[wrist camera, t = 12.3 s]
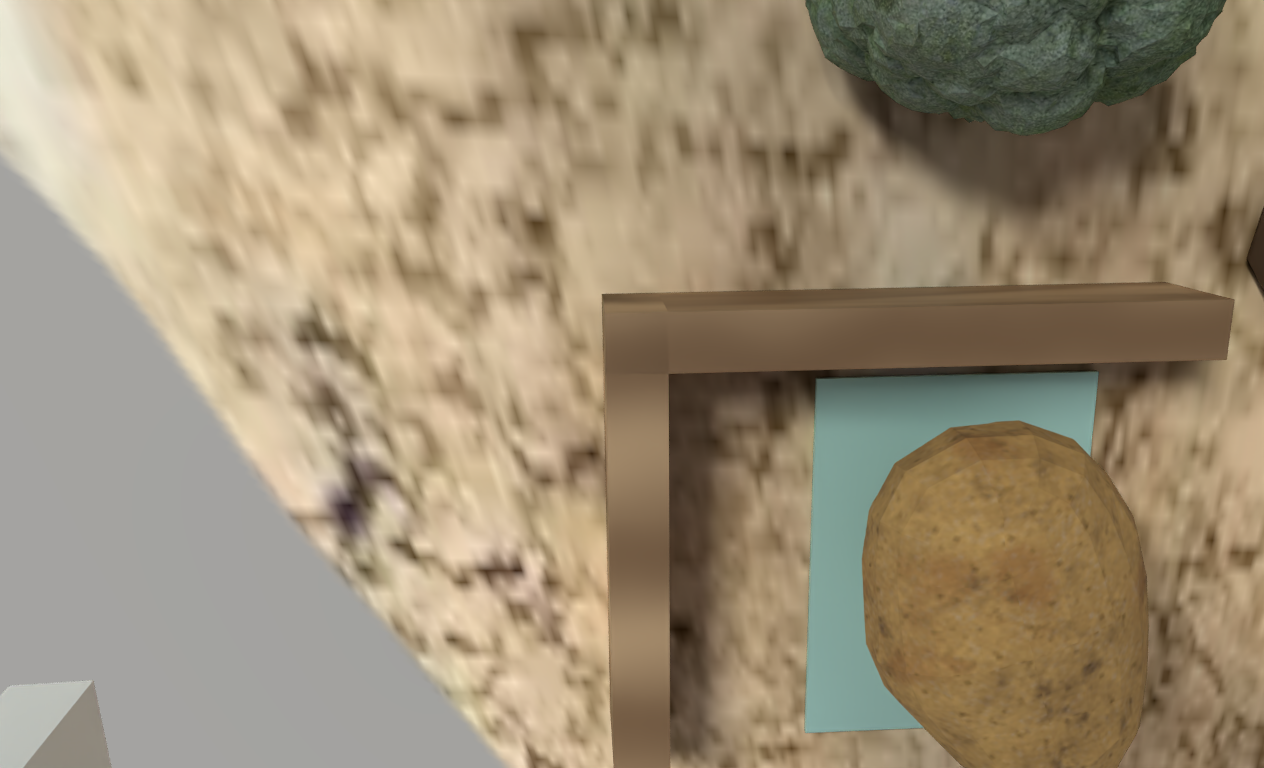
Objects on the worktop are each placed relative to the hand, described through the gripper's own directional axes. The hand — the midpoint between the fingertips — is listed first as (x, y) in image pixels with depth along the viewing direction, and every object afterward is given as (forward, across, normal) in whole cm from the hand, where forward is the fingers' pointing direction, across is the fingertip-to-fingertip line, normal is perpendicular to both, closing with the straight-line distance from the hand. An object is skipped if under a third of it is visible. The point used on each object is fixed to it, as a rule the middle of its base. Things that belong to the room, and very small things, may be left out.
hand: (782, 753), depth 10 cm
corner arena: (+26, +9, -9) cm, 29 cm away
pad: (+26, +12, -11) cm, 31 cm away
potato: (+26, +12, -11) cm, 31 cm away
